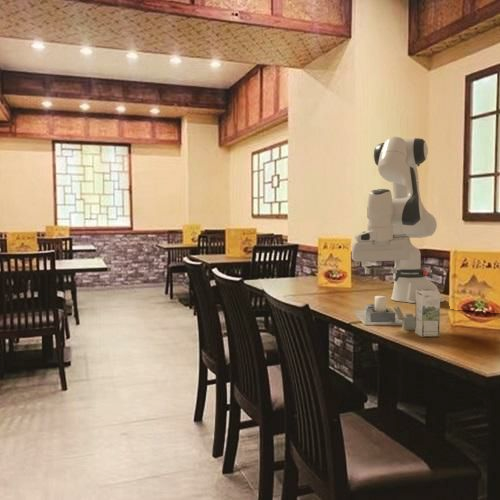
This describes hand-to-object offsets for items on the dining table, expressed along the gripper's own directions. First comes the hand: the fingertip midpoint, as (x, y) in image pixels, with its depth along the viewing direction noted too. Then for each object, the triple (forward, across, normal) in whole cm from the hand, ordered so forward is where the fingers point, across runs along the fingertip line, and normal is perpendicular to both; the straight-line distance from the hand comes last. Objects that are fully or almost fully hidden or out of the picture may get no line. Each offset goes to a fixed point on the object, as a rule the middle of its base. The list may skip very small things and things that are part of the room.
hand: (380, 273), depth 176 cm
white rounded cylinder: (+16, 0, 0) cm, 17 cm away
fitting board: (+18, 0, -5) cm, 18 cm away
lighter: (+18, -5, +13) cm, 22 cm away
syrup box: (+18, -10, +21) cm, 29 cm away
